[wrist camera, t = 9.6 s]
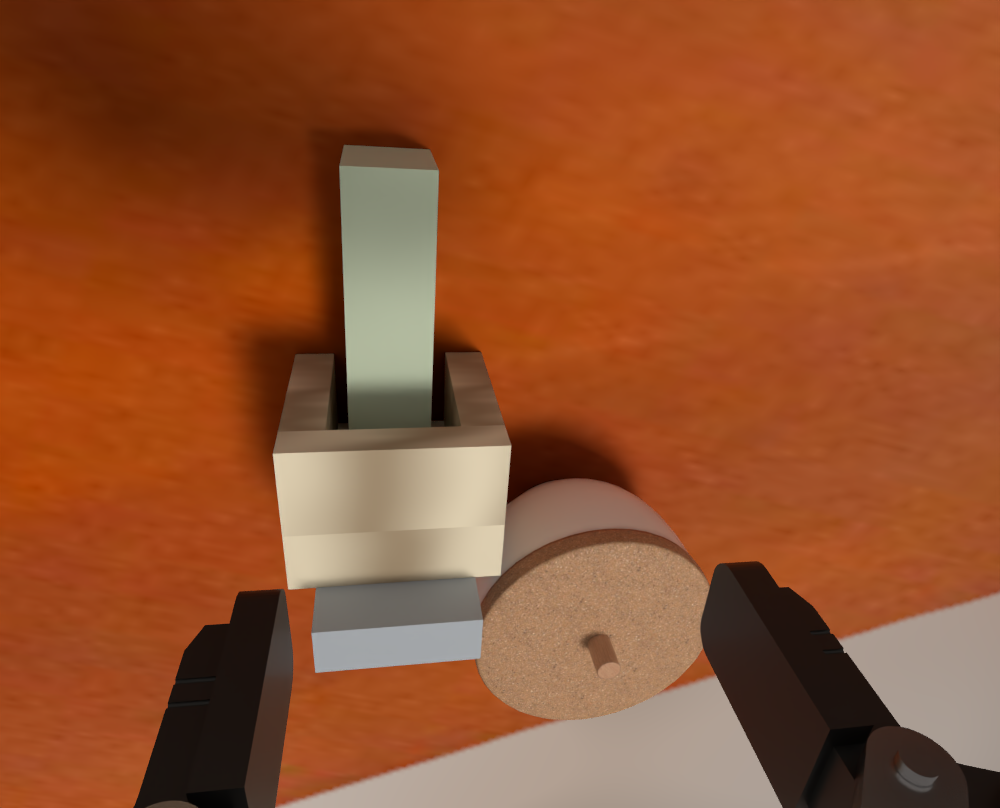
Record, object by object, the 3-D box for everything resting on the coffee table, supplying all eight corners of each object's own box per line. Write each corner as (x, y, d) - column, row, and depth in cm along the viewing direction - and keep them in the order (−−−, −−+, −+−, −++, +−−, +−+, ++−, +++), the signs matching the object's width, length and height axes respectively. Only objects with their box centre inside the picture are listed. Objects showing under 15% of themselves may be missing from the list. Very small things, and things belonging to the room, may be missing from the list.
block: (480, 352, 31) (511, 445, 24) (475, 463, 34) (500, 575, 27) (295, 354, 29) (272, 453, 23) (306, 470, 32) (288, 589, 26)
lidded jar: (522, 629, 40) (560, 785, 32) (414, 514, 35) (427, 665, 26) (684, 537, 38) (768, 675, 30) (597, 402, 33) (670, 525, 25)
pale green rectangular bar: (429, 148, 26) (438, 170, 23) (422, 418, 32) (429, 471, 28) (344, 144, 26) (339, 165, 22) (353, 419, 32) (350, 473, 28)
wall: (454, 464, 33) (483, 619, 25) (453, 498, 34) (480, 658, 26) (328, 469, 32) (311, 633, 24) (330, 503, 33) (315, 672, 25)
